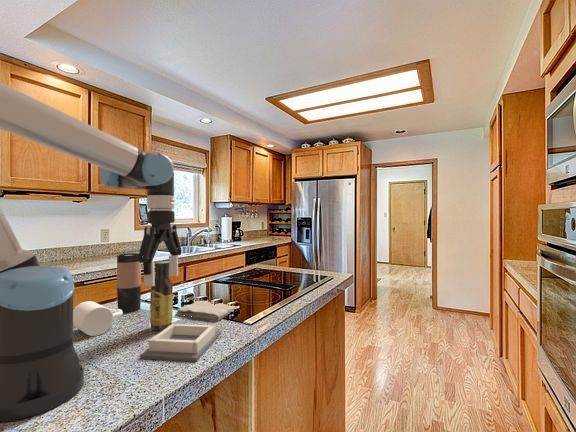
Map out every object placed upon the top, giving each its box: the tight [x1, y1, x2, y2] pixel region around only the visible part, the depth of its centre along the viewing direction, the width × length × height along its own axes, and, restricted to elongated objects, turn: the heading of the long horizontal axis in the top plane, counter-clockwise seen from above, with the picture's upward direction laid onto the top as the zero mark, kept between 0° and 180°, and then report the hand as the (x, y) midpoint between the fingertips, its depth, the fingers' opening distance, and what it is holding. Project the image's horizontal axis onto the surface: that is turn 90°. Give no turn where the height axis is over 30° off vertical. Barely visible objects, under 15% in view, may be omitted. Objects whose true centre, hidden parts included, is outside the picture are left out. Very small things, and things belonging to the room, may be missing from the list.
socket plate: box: [139, 323, 222, 362], centre depth 78 cm, size 16×14×3 cm
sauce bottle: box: [149, 260, 174, 332], centre depth 90 cm, size 7×6×20 cm
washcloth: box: [175, 300, 237, 322], centre depth 104 cm, size 12×18×3 cm, turn 69°
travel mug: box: [116, 252, 142, 314], centre depth 108 cm, size 8×8×20 cm
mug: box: [73, 300, 124, 337], centre depth 90 cm, size 12×10×8 cm
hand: (162, 280), depth 91 cm, fingers open, 13 cm apart
